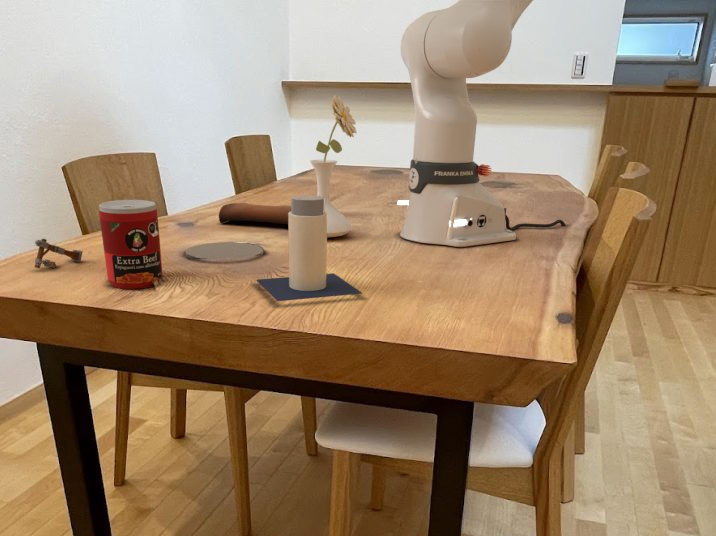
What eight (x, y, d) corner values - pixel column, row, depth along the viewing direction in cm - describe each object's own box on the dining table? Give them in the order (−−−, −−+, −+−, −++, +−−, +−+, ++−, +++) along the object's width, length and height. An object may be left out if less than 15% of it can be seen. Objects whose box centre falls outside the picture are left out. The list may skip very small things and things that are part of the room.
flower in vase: (323, 244, 120) (325, 95, 110) (280, 235, 127) (278, 93, 117) (369, 235, 129) (375, 95, 119) (327, 226, 136) (329, 94, 126)
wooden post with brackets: (26, 265, 99) (32, 235, 98) (69, 276, 106) (75, 248, 106) (34, 267, 98) (40, 237, 98) (77, 277, 105) (83, 250, 105)
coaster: (252, 243, 120) (252, 240, 120) (272, 259, 109) (272, 256, 109) (180, 248, 116) (179, 244, 115) (193, 265, 104) (192, 261, 104)
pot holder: (333, 278, 99) (333, 273, 98) (362, 298, 89) (362, 293, 89) (255, 284, 95) (255, 279, 94) (277, 306, 85) (277, 300, 85)
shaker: (318, 279, 95) (319, 194, 90) (331, 289, 90) (333, 199, 86) (284, 282, 93) (283, 195, 88) (295, 292, 89) (295, 201, 84)
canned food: (113, 292, 90) (103, 210, 86) (103, 278, 96) (93, 201, 92) (169, 286, 93) (162, 206, 89) (156, 273, 100) (148, 198, 95)
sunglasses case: (314, 221, 139) (308, 195, 133) (304, 243, 135) (298, 218, 129) (235, 215, 143) (227, 190, 138) (224, 237, 139) (215, 212, 134)
